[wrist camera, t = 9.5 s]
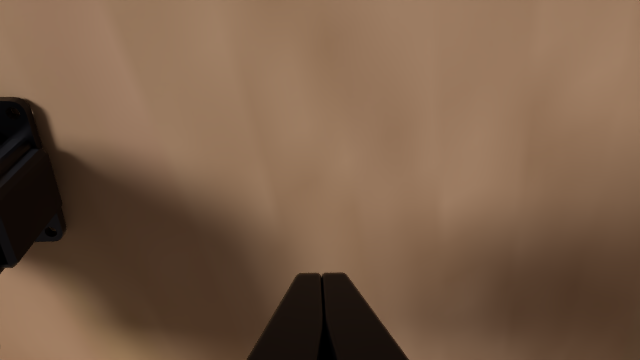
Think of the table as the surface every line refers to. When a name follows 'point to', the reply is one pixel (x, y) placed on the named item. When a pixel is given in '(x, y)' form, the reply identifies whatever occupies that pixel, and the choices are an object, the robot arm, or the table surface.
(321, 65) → the table surface
